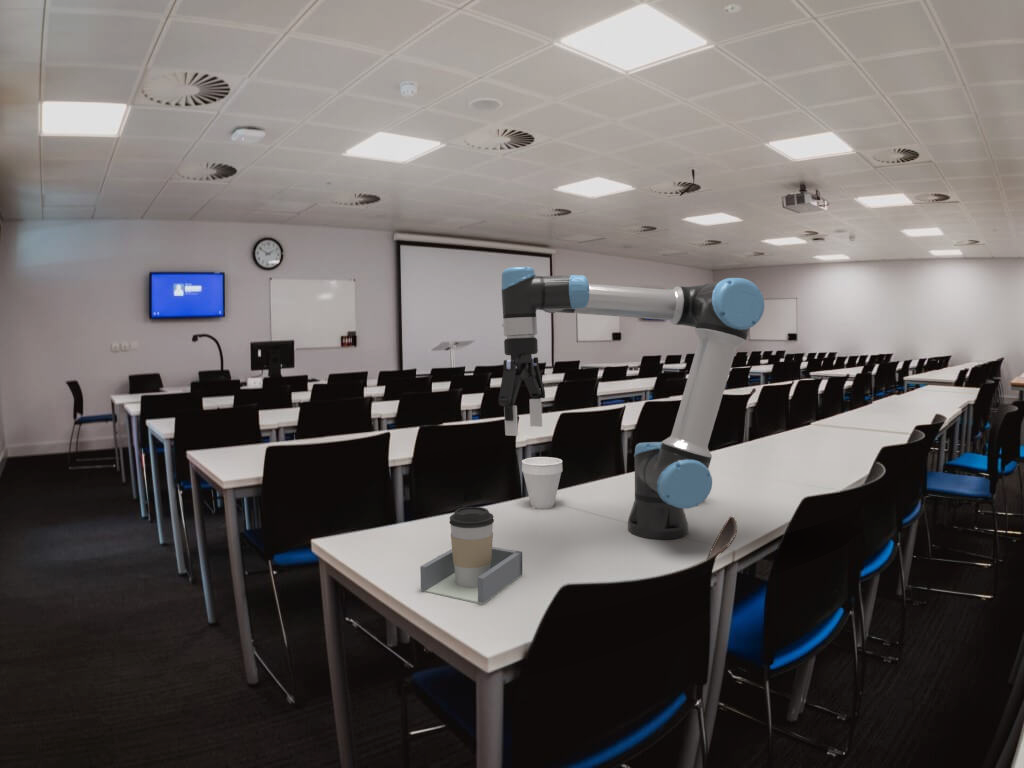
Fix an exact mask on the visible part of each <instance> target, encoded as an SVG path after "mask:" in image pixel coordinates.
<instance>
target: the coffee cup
mask: <svg viewBox="0 0 1024 768" xmlns="http://www.w3.org/2000/svg"><path fill="white" fill-rule="evenodd" d="M494 522H495V520H494V515H493V514H492V513H491V512H490V511H489V509H488V508H485V507H481V506H468V507H467V506H466V507H462V508H461V507H460V508H457V509H456V510H455V511H454V513H453V514H451V515H450V516H449V525H450V530H451V531H450V540H451V541H450V544H451V549H452V554H453V563H454V567H455V579H456V584H457V585H459V586H461V587H466V588H477V587H478V577H479V576H481V575H482V574H484V573H485V572H487V571H488V570H490V564H491V558H492V547H493V541H494V539H493V538H494V537H493V536H494V532H493V527H494V525H493V524H494Z"/></svg>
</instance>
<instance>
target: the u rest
mask: <svg viewBox="0 0 1024 768" xmlns="http://www.w3.org/2000/svg"><path fill="white" fill-rule="evenodd" d="M419 570H420V571H419V572H420V591H421V592H424V593H429V594H433V595H439V596H441V597H442V596H443V597H448V598H452V599H455V600H456V599H457V600H461V601H465V602H470V603H475V604H479V605H485V604H487V603H488V602H489V601H490V600H492V599H493V598H494V597H496V596H497V595H498V594H499V593H501V592H502V591H503V590H505V589H506V588H507V587H508V586H510V585H511V584H512V583H514V582H515V581H516V580H518V579H519V578H522V577H521V576H523V551H518V550H513V549H508V548H501V547H495V546H492V558H491V564H490V570H488V571H487V572H485V573H484V574H482V575H481V576H479V577H478V587H477V588H466V587H461V586H459V585H457V584H456V579H455V567H454V563H453V554H452V548H451V549H449V550H447V551H445V552H444V553H442V554H439V555H438V556H436V557H435V558H433V559H431V560H430V561H429V560H428V562H426V563H424V564H422V565H420V569H419Z"/></svg>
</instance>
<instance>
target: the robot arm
mask: <svg viewBox="0 0 1024 768" xmlns="http://www.w3.org/2000/svg"><path fill="white" fill-rule="evenodd" d="M501 300H502V301H501V303H502V304H501V305H502V318H503V320H502V321H503V323H502V325H501V326H502V327H503V336H504V337H506V338H505V339H504V341H503V348H504V349H503V350H504V354H505V355H506V356H510V359H504V360H503V368H502V369H503V372H502V377H501V382H500V388H499V389H500V390H499V396H498V400H497V402H498V405H499V406H500V407H503V413H504V415H503V416H504V432H505V433H504V434H505V436H510V437H511V436H513V437H517V436H519V431H518V429H519V428H518V427H519V425H518V406H517V405H515V404H516V400H517V397H518V393H519V390H520V387H521V385H522V384H521V383H522V382H523V381H524V384H525V386H526V388H527V390H528V393H529V397H530V398H529V421H530V423H529V424H530V427H542V426H543V415H542V414H543V413H542V410H543V409H542V399H545V398H546V391H545V387H544V382H543V378H542V374H541V371H540V367H539V358H538V356H534V357H533V356H532V355H537V354H538V351H539V349H538V347H539V346H538V338H537V337H536V336H537V335H538V322H537V321H538V319H537V311H542V312H543V311H544V312H545V313H549V314H556V313H561V314H580V315H593V316H594V315H595V316H605V317H607V316H608V317H610V316H611V317H623V318H638V319H648V320H649V319H650V320H665V321H669V322H670V323H671V325H676V326H684V327H686V326H687V327H693V328H694V331H695V333H696V335H697V336H698V341H697V345H696V349H695V353H694V356H693V359H692V363H691V366H690V370H689V373H688V377H687V379H686V383H685V387H684V391H683V393H682V397H681V400H680V403H679V404H680V405H679V408H678V411H677V414H676V417H675V422H674V424H673V428H672V431H671V434H670V435H669V436H668V437H669V438H667V437H666V438H667V439H666V438H665V439H664V440H661V441H662V442H661V441H651V442H650V441H649V442H647V441H646V442H639V443H637V444H636V445H635V448H634V454H633V458H634V501H633V504H632V507H631V510H630V513H629V515H628V519H627V531H628V532H629V533H631V534H633V535H635V536H638V537H642V538H646V539H647V538H648V539H655V540H671V539H680V538H683V537H685V536H687V535H688V533H689V524H688V519H687V516H686V513H685V511H684V509H692V508H695V507H697V506H699V505H701V504H702V503H704V502H705V500H706V499H707V498H708V497H709V495H710V494H711V492H712V488H713V487H712V486H713V477H712V475H711V472H710V470H709V467H710V465H711V461H712V457H713V455H712V453H711V451H710V450H709V443H710V440H711V436H712V433H713V430H714V426H715V422H716V419H717V416H718V413H719V410H720V406H721V402H722V399H723V395H724V393H725V389H726V385H727V382H728V379H729V375H730V371H731V368H732V365H733V361H734V358H735V354H736V352H737V349H738V348H739V347H740V346H742V345H744V344H746V343H747V339H748V336H749V332H750V329H751V328H752V327H754V326H755V325H757V324H758V322H759V321H760V320H761V319H762V316H763V314H764V311H765V298H764V296H763V293H762V292H761V290H760V289H759V287H758V286H757V285H756V284H755V283H754V282H752V281H751V280H749V279H747V278H742V277H728V278H723V279H722V280H719V281H714V282H709V283H706V284H701V285H692V286H675V287H674V288H672V289H664V288H663V289H662V288H648V287H647V288H646V287H635V286H621V285H609V284H598V283H597V284H595V283H589V280H588V278H587V276H586V275H582V274H580V275H579V274H567V275H566V274H565V275H549V276H547V275H545V276H542V275H536V273H535V269H534V268H533V267H531V266H516V267H515V266H514V267H507V268H505V269H504V270H503V271H502V272H501Z"/></svg>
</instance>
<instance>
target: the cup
mask: <svg viewBox="0 0 1024 768" xmlns="http://www.w3.org/2000/svg"><path fill="white" fill-rule="evenodd" d="M521 472H522V475H523V477H524V482H525V486H526V490H527V495H528V499H529V503H530V505H531V508H533V509H540V510H546V509H552V508H554V506H555V503H556V498H557V495H558V494H557V493H558V490H559V489H558V488H559V483H560V479H561V476H562V472H563V460H562V459H561V458H558V457H551V456H550V457H549V456H535V457H527V458H525V459H524V458H523V459H522V460H521Z"/></svg>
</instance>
